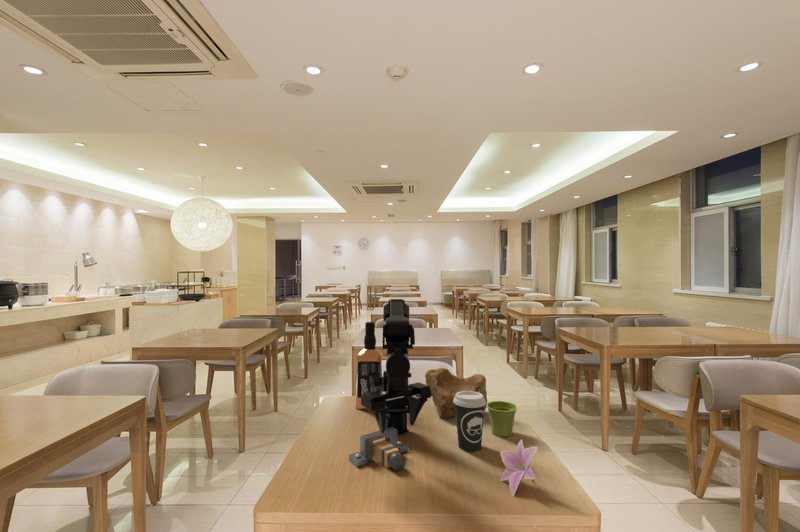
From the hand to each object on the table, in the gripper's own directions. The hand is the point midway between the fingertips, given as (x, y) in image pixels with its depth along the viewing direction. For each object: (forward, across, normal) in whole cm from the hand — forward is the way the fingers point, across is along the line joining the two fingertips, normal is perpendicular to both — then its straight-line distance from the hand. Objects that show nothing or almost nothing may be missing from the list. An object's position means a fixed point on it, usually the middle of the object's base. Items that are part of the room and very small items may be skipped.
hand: (397, 428), depth 98 cm
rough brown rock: (+11, -38, -21) cm, 45 cm away
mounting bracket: (+10, 0, -9) cm, 14 cm away
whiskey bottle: (+10, -19, -46) cm, 51 cm away
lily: (+10, -20, +23) cm, 32 cm away
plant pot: (+10, -40, +1) cm, 41 cm away
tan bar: (+10, 0, -7) cm, 12 cm away
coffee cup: (+10, -24, +2) cm, 27 cm away
